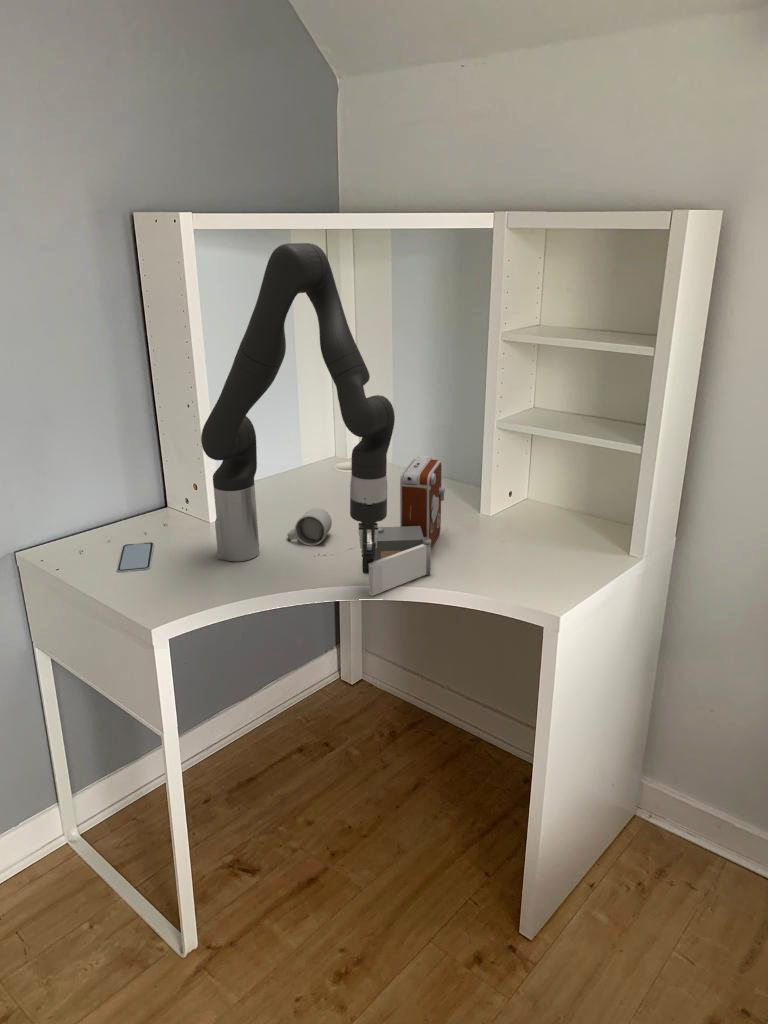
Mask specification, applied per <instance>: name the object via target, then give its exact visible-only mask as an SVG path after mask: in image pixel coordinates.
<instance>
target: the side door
mask: <svg viewBox="0 0 768 1024" xmlns="http://www.w3.org/2000/svg"><path fill="white" fill-rule="evenodd" d="M431 551H432V549H431V544H421V545H419V546H416V547H413V548H410V549H408V550H405V551H402V552H399V553H396V554H394V555H391V556H388V557H385V558H383V559H380V560H377V561H374V562H371V563H369V574H368V594H369V595H370V596H375V595H378V594H381V593H383V592H386V591H387V590H390V589H393V588H395V587H399V586H400V585H403V584H406V583H408V582H411V581H413V580H417V579H418V578H420V577H423V576H429V575H431V555H432V553H431Z"/></svg>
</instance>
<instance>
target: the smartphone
mask: <svg viewBox="0 0 768 1024" xmlns="http://www.w3.org/2000/svg"><path fill="white" fill-rule="evenodd" d="M154 548H155V543H154V542H152V541H151V542H150V541H149V542H138V543H135V542H134V543H127V544H123V545H122V548H121V551H120V555H119V559H118V564H117V568H116V572H117V571H118V573H129V572H128V571H131V572H141V571H148V570H150V569H151V565H152V561H153V555H154ZM140 570H141V571H140Z"/></svg>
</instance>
